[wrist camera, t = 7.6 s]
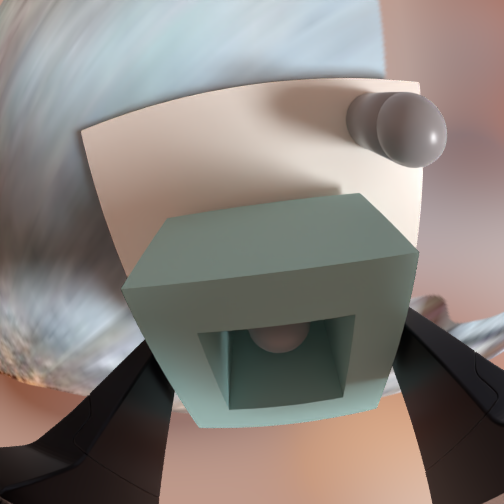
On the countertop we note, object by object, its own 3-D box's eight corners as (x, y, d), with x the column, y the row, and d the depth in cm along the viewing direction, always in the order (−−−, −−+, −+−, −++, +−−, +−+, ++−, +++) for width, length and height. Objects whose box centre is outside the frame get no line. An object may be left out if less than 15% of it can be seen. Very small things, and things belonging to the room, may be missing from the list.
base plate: (186, 367, 16) (172, 438, 12) (100, 126, 9) (16, 151, 5) (382, 344, 15) (408, 412, 11) (399, 83, 8) (484, 83, 4)
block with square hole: (210, 350, 12) (199, 427, 9) (167, 218, 9) (120, 289, 6) (352, 333, 12) (376, 408, 8) (359, 192, 9) (419, 252, 5)
